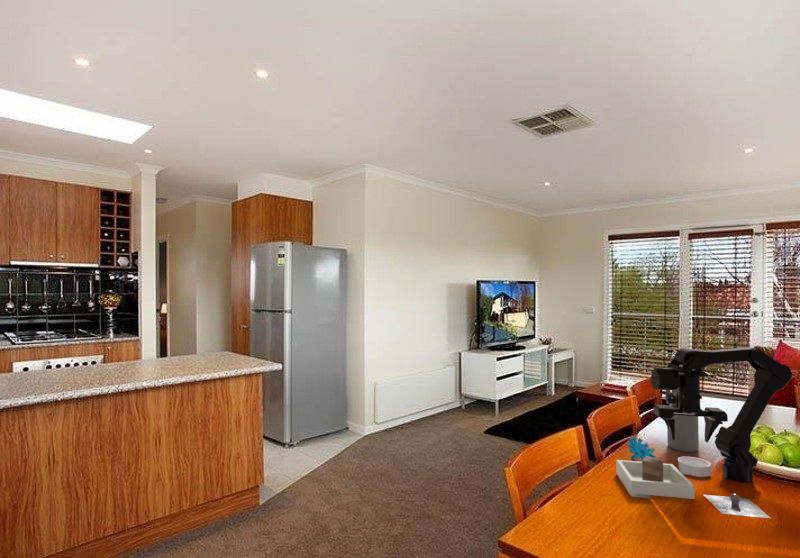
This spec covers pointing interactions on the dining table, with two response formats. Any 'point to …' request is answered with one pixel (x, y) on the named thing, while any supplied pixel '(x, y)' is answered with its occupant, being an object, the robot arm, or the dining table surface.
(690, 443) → the water bottle
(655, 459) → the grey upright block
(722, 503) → the stud plate
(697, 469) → the ramekin
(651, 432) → the dining table surface
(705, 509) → the dining table surface
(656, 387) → the robot arm
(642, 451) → the blue coral
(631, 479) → the bin
